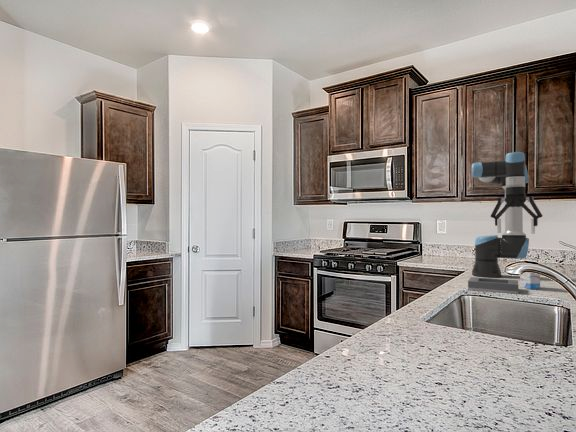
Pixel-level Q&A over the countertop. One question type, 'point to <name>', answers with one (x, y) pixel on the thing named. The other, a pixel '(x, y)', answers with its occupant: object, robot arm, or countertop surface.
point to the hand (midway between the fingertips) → (515, 233)
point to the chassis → (493, 285)
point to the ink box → (530, 280)
